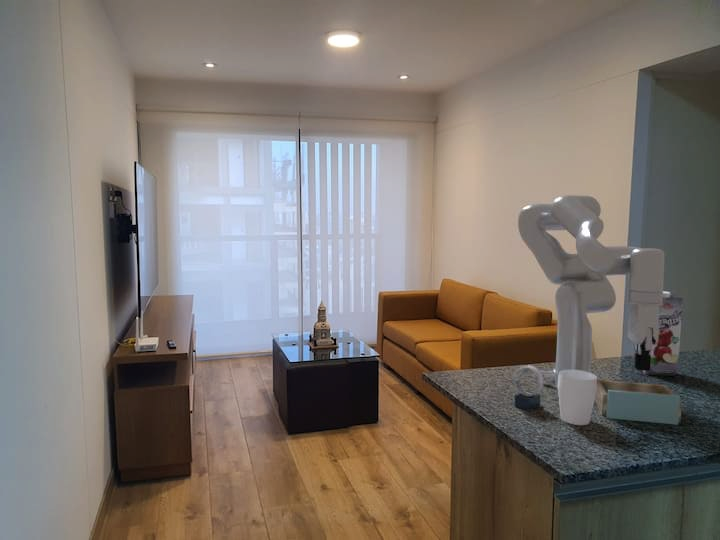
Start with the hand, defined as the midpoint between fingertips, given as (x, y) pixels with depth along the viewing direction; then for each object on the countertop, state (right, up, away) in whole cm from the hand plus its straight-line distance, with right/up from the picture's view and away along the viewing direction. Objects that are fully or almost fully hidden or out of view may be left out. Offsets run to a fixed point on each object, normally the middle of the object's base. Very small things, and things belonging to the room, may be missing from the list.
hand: (642, 369), depth 134 cm
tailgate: (-2, -12, -3) cm, 13 cm away
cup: (-18, -13, -2) cm, 22 cm away
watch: (-27, -12, +9) cm, 30 cm away
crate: (0, -12, +5) cm, 13 cm away
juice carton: (+25, -9, +39) cm, 47 cm away
